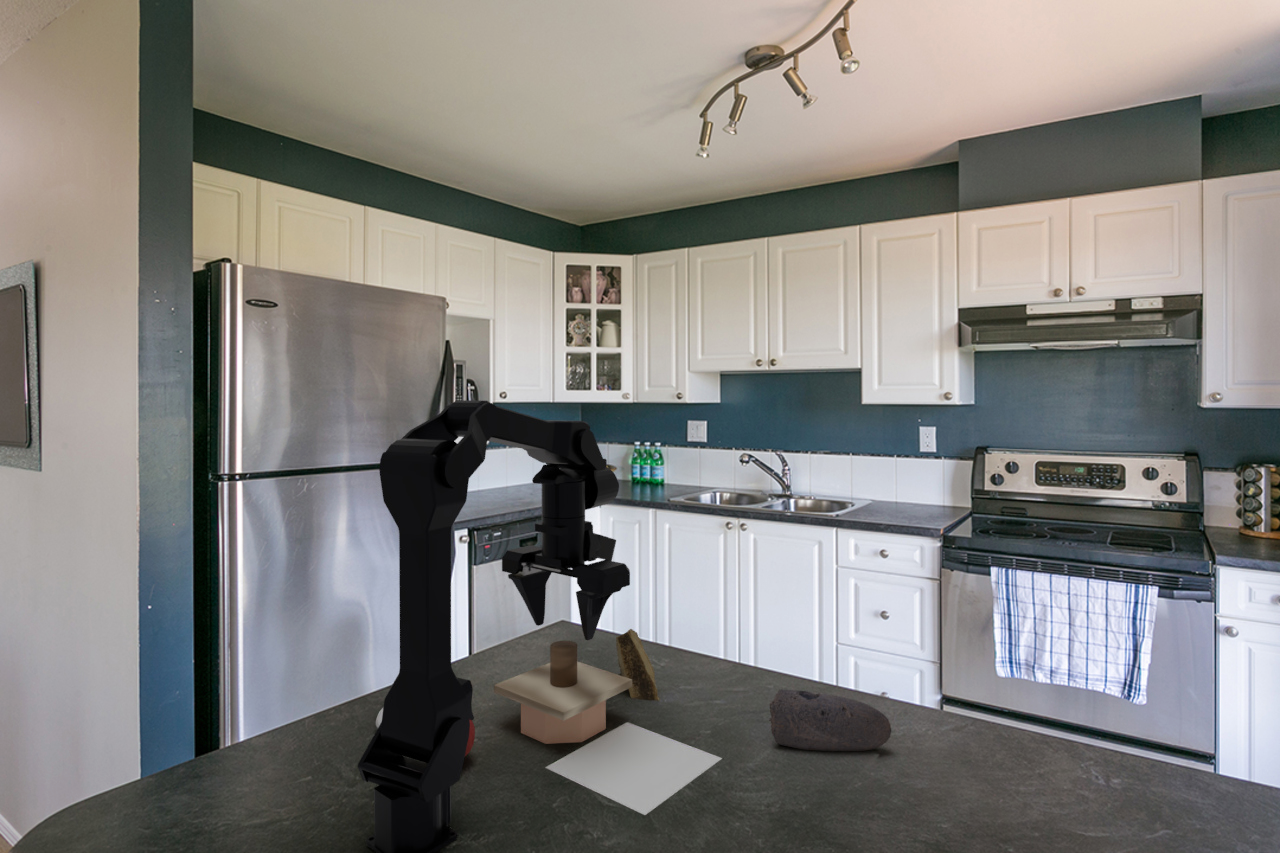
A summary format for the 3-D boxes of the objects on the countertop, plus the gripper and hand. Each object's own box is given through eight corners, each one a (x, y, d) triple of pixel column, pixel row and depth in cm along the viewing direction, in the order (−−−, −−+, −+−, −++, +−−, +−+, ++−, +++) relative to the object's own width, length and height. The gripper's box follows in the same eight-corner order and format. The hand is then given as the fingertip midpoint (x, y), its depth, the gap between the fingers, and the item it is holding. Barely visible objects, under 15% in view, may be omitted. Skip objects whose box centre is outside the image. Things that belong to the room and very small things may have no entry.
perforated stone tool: (887, 743, 90) (888, 690, 90) (895, 764, 85) (896, 708, 85) (768, 734, 93) (768, 682, 92) (768, 754, 87) (769, 699, 87)
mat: (644, 819, 74) (644, 814, 74) (545, 771, 83) (545, 767, 83) (722, 762, 85) (722, 758, 85) (627, 725, 95) (627, 722, 95)
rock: (605, 657, 113) (587, 672, 104) (638, 616, 113) (623, 627, 103) (657, 705, 111) (643, 724, 101) (690, 663, 110) (680, 679, 101)
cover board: (563, 720, 85) (563, 671, 85) (493, 692, 93) (493, 647, 93) (632, 686, 95) (632, 642, 95) (563, 663, 103) (563, 623, 103)
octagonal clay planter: (563, 755, 87) (563, 715, 86) (504, 729, 94) (504, 691, 93) (621, 723, 95) (621, 687, 95) (563, 701, 102) (563, 667, 102)
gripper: (656, 514, 93) (656, 631, 94) (557, 501, 105) (557, 605, 106) (600, 526, 85) (600, 654, 85) (499, 510, 97) (499, 623, 97)
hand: (563, 631), depth 94 cm, fingers open, 9 cm apart
